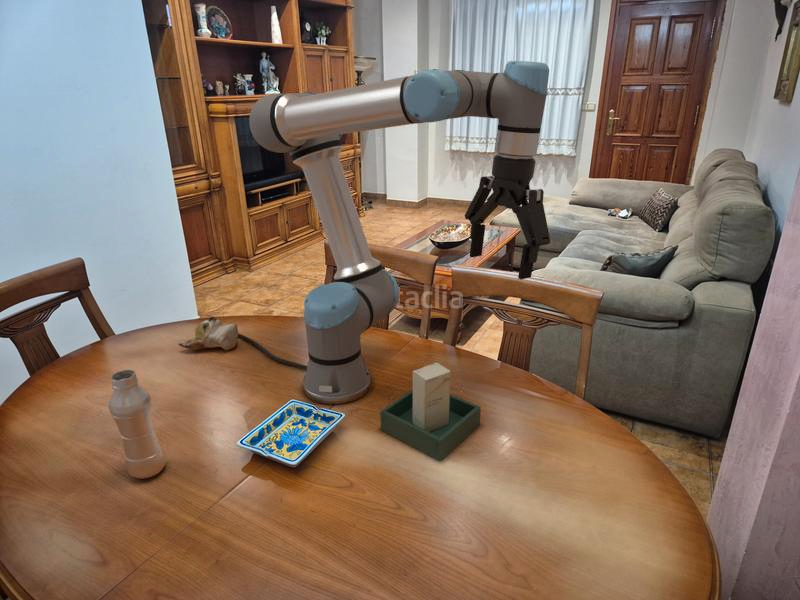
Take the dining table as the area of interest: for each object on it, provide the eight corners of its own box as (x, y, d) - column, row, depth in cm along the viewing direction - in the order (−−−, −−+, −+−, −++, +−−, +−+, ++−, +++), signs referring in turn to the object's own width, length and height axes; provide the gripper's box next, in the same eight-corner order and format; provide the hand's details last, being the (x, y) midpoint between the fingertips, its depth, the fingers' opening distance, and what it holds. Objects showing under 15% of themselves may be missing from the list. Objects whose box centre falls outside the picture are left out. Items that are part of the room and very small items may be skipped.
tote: (380, 430, 102) (380, 411, 100) (422, 399, 112) (422, 382, 110) (440, 461, 93) (440, 441, 92) (479, 425, 103) (480, 406, 101)
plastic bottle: (153, 486, 89) (128, 387, 81) (119, 481, 90) (91, 383, 82) (176, 461, 94) (153, 367, 87) (143, 456, 96) (119, 363, 88)
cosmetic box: (424, 435, 99) (424, 381, 94) (411, 423, 102) (411, 370, 97) (450, 423, 102) (451, 370, 97) (436, 412, 105) (437, 361, 101)
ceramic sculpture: (223, 327, 127) (171, 325, 130) (230, 358, 130) (179, 355, 133) (245, 310, 136) (195, 309, 140) (251, 339, 139) (202, 337, 143)
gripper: (585, 166, 85) (561, 284, 93) (482, 145, 103) (470, 245, 112) (556, 168, 81) (533, 292, 89) (454, 146, 99) (444, 250, 108)
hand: (498, 266), depth 101 cm, fingers open, 13 cm apart
